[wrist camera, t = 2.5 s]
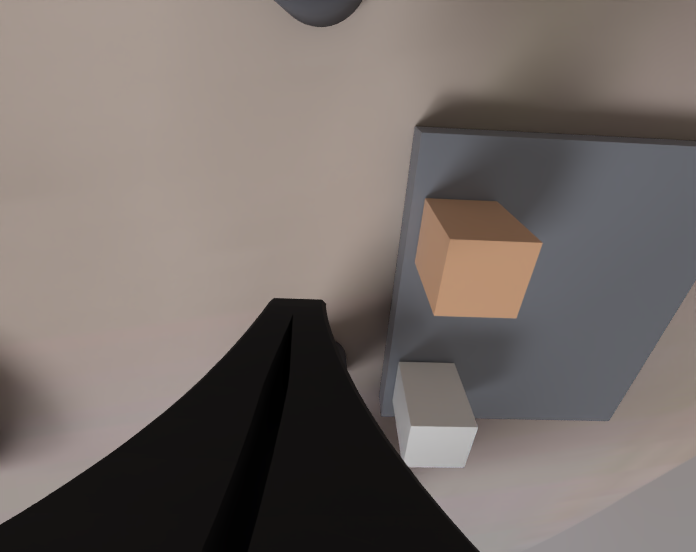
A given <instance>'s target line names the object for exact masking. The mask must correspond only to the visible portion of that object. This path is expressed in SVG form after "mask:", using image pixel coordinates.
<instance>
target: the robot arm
mask: <svg viewBox="0 0 696 552" xmlns="http://www.w3.org/2000/svg"><path fill="white" fill-rule="evenodd" d="M0 552H480V551H479V550H478V549H477V548H476V547H475V546H474V545H473V544H472V543H471V542H470V541H469V540H468V538H467V537H466V536H465V535H464V534H463V533H462V532H461V530H460V529H459V528H458V527H457V526H456V525H455V524H454V523H453V521H452V520H451V519H450V518H449V517H448V516H447V515H446V513H445V512H444V511H443V510H442V509H441V507H440V506H439V505H438V504H437V503H436V501H435V500H434V499H433V498H432V497H431V495H430V494H429V493H428V492H427V490H426V489H425V488H424V487H423V486H422V484H421V483H420V482H419V481H418V479H417V478H416V477H415V475H414V474H413V473H412V471H411V470H410V469H409V467H408V466H407V465H406V463H405V462H404V461H403V459H402V458H401V456H400V455H399V454H398V452H397V451H396V450H395V448H394V447H393V446H392V444H391V443H390V442H389V440H388V439H387V437H386V436H385V434H384V433H383V431H382V430H381V428H380V427H379V425H378V424H377V422H376V421H375V419H374V417H373V416H372V414H371V413H370V411H369V409H368V408H367V406H366V404H365V403H364V401H363V399H362V397H361V396H360V394H359V392H358V390H357V388H356V386H355V385H354V383H353V381H352V379H351V377H350V375H349V373H348V371H347V369H346V366H345V364H344V362H343V360H342V357H341V355H340V353H339V350H338V348H337V345H336V343H335V340H334V337H333V335H332V331H331V328H330V325H329V321H328V317H327V312H326V303H325V302H324V301H323V300H315V299H284V298H274V299H272V300H271V301H270V302H269V303H268V305H267V306H266V307H265V309H264V310H263V311H262V313H261V314H260V315H259V316H258V318H257V319H256V320H255V321H254V323H253V324H252V325H251V326H250V328H249V329H248V330H247V331H246V332H245V333H244V335H243V336H242V337H241V338H240V339H239V340H238V341H237V342H236V344H235V345H234V346H233V347H232V348H231V349H230V350H229V351H228V353H227V354H226V355H225V356H224V357H223V358H222V359H221V360H220V361H219V362H218V363H217V364H216V365H215V366H214V367H213V368H212V369H211V370H210V371H209V372H208V373H207V374H206V375H205V376H204V377H203V378H202V379H201V380H200V381H199V382H198V383H197V384H196V385H194V386H193V387H192V388H191V389H190V390H189V391H188V392H187V393H186V394H185V395H184V396H182V397H181V398H180V399H179V400H178V401H177V402H175V403H174V404H173V405H172V406H171V407H170V408H168V409H167V410H166V411H165V412H164V413H162V414H161V415H160V416H159V417H157V418H156V419H155V420H154V421H152V422H151V423H150V424H149V425H147V426H146V427H145V428H144V429H142V430H141V431H140V432H138V433H137V434H136V435H135V436H133V437H132V438H131V439H129V440H128V441H127V442H125V443H124V444H123V445H121V446H120V447H119V448H117V449H116V450H115V451H113V452H112V453H110V454H109V455H108V456H106V457H105V458H103V459H102V460H100V461H99V462H97V463H96V464H94V465H93V466H91V467H90V468H89V469H87V470H86V471H84V472H83V473H81V474H80V475H78V476H77V477H75V478H74V479H72V480H71V481H69V482H68V483H66V484H65V485H63V486H62V487H60V488H59V489H57V490H56V491H54V492H52V493H51V494H49V495H48V496H46V497H45V498H43V499H42V500H40V501H38V502H37V503H35V504H34V505H32V506H30V507H29V508H27V509H26V510H24V511H22V512H21V513H19V514H17V515H16V516H14V517H12V518H11V519H9V520H7V521H6V522H4V523H2V524H1V525H0Z"/></svg>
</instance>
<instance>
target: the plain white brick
mask: <svg viewBox="0 0 696 552" xmlns="http://www.w3.org/2000/svg"><path fill="white" fill-rule="evenodd" d="M392 401H393V407H394V414H395V421H396V427H397V434H398V440H399V447H400V454H401V458H402V459H403V461H404V462H405V463H406V465H407V466H408V467H437V468H464V467H465V464H466V461H467V458H468V455H469V452H470V450H471V447H472V444H473V441H474V438H475V435H476V432H477V430H478V425H477V423H476V420H475V417H474V415H473V412H472V409H471V406H470V404H469V401H468V398H467V396H466V393H465V390H464V388H463V385H462V382H461V380H460V377H459V374H458V372H457V369H456V366H455V364H454V363H430V362H399V363H398V369H397V376H396V382H395V388H394V394H393V400H392Z"/></svg>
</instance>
